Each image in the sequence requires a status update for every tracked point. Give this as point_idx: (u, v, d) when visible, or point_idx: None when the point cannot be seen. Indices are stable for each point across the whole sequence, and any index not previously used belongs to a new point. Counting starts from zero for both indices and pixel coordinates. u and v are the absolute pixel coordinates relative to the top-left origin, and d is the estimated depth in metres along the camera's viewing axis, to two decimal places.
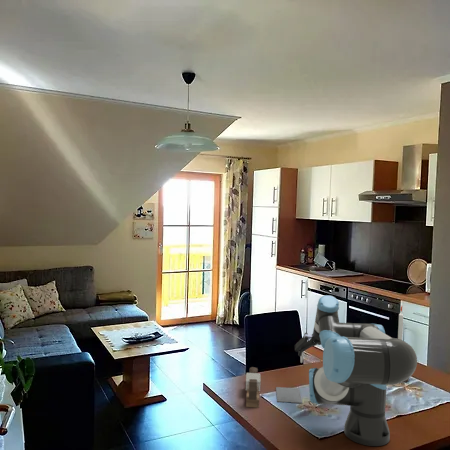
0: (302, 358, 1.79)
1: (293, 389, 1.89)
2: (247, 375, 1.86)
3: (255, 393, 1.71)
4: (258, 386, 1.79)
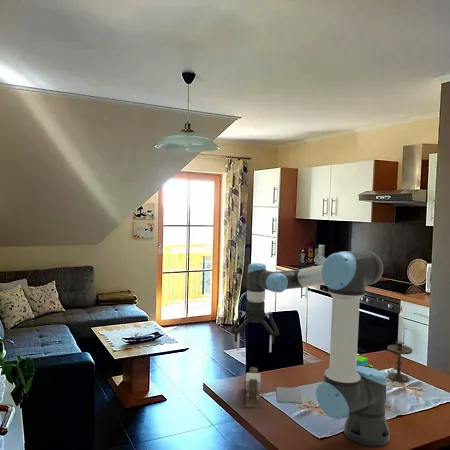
0: (238, 343, 1.83)
1: (293, 389, 1.89)
2: (247, 375, 1.86)
3: (255, 393, 1.71)
4: (258, 386, 1.79)
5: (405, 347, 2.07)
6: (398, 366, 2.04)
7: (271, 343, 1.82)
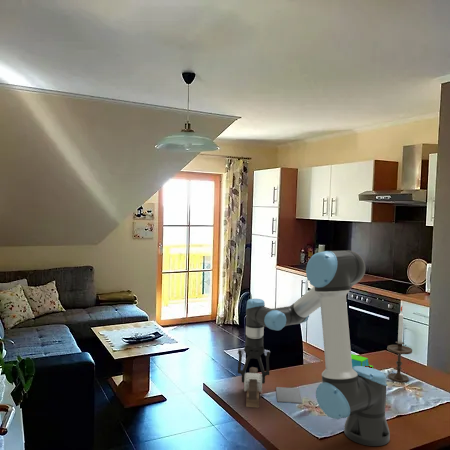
0: (245, 384, 1.83)
1: (293, 389, 1.89)
2: (247, 375, 1.86)
3: (255, 393, 1.71)
4: (258, 386, 1.79)
5: (405, 347, 2.07)
6: (398, 366, 2.04)
7: (261, 383, 1.82)
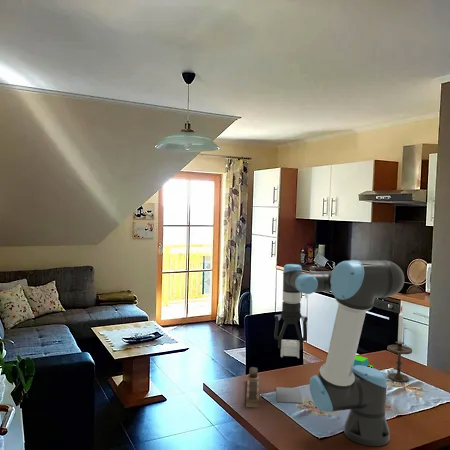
0: (282, 350, 1.81)
1: (293, 389, 1.89)
2: (284, 341, 1.84)
3: (255, 393, 1.71)
4: (296, 351, 1.78)
5: (405, 347, 2.07)
6: (398, 366, 2.04)
7: None
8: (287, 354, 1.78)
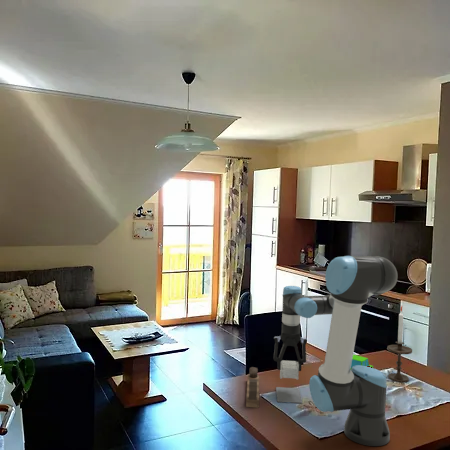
0: (281, 371, 1.82)
1: (293, 389, 1.89)
2: (283, 363, 1.84)
3: (255, 393, 1.71)
4: (295, 373, 1.78)
5: (405, 347, 2.07)
6: (398, 366, 2.04)
7: (298, 370, 1.81)
8: (286, 376, 1.79)
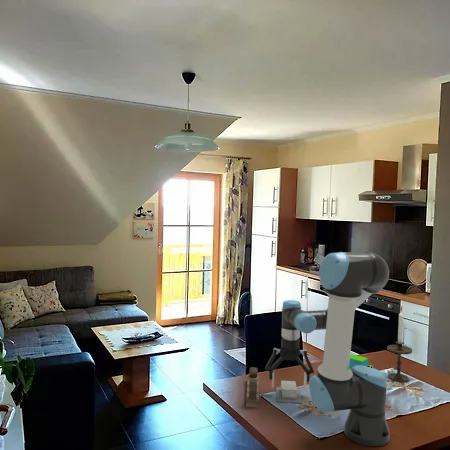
0: (273, 381, 1.82)
1: None
2: (282, 383, 1.85)
3: (255, 393, 1.71)
4: (295, 394, 1.78)
5: (405, 347, 2.07)
6: (398, 366, 2.04)
7: (306, 381, 1.81)
8: (286, 397, 1.79)
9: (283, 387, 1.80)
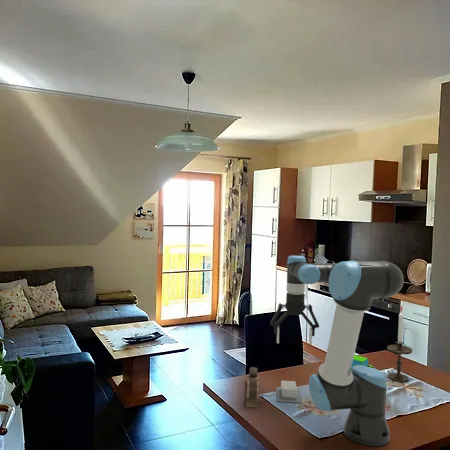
0: (278, 336, 1.82)
1: None
2: (282, 383, 1.85)
3: (255, 393, 1.71)
4: (295, 394, 1.78)
5: (405, 347, 2.07)
6: (398, 366, 2.04)
7: (311, 335, 1.81)
8: (286, 397, 1.79)
9: (283, 387, 1.80)
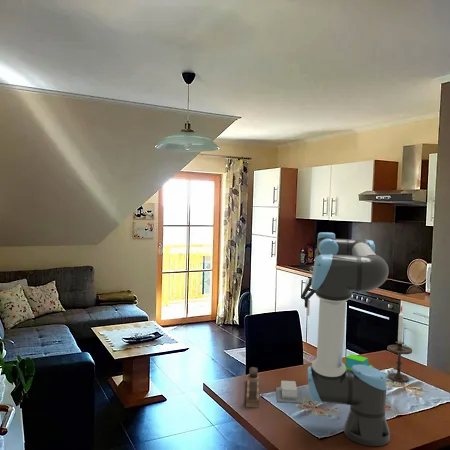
0: (308, 309, 1.91)
1: None
2: (282, 383, 1.85)
3: (255, 393, 1.71)
4: (295, 394, 1.78)
5: (405, 347, 2.07)
6: (398, 366, 2.04)
7: None
8: (286, 397, 1.79)
9: (283, 387, 1.80)
